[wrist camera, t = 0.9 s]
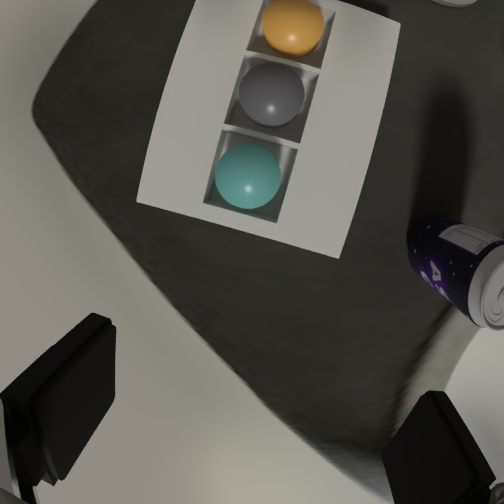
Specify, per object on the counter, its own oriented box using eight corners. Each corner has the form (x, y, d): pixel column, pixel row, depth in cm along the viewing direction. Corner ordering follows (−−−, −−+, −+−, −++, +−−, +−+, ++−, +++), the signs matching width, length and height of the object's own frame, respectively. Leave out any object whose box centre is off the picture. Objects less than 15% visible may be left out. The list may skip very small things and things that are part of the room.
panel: (213, -9, 21) (207, -25, 18) (389, 36, 21) (400, 23, 18) (150, 197, 26) (136, 201, 23) (332, 248, 26) (338, 258, 23)
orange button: (271, 6, 19) (270, -9, 17) (325, 19, 19) (330, 6, 17) (256, 49, 21) (254, 37, 18) (313, 63, 21) (316, 53, 18)
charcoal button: (251, 67, 21) (248, 56, 19) (308, 81, 21) (311, 72, 19) (235, 119, 22) (230, 114, 20) (293, 134, 22) (295, 130, 20)
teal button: (229, 139, 23) (224, 136, 20) (287, 155, 23) (288, 153, 20) (214, 195, 24) (207, 199, 21) (271, 211, 24) (270, 216, 21)
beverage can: (392, 243, 26) (462, 295, 14) (436, 201, 24) (523, 227, 13) (424, 287, 26) (492, 352, 15) (464, 247, 25) (546, 292, 14)
